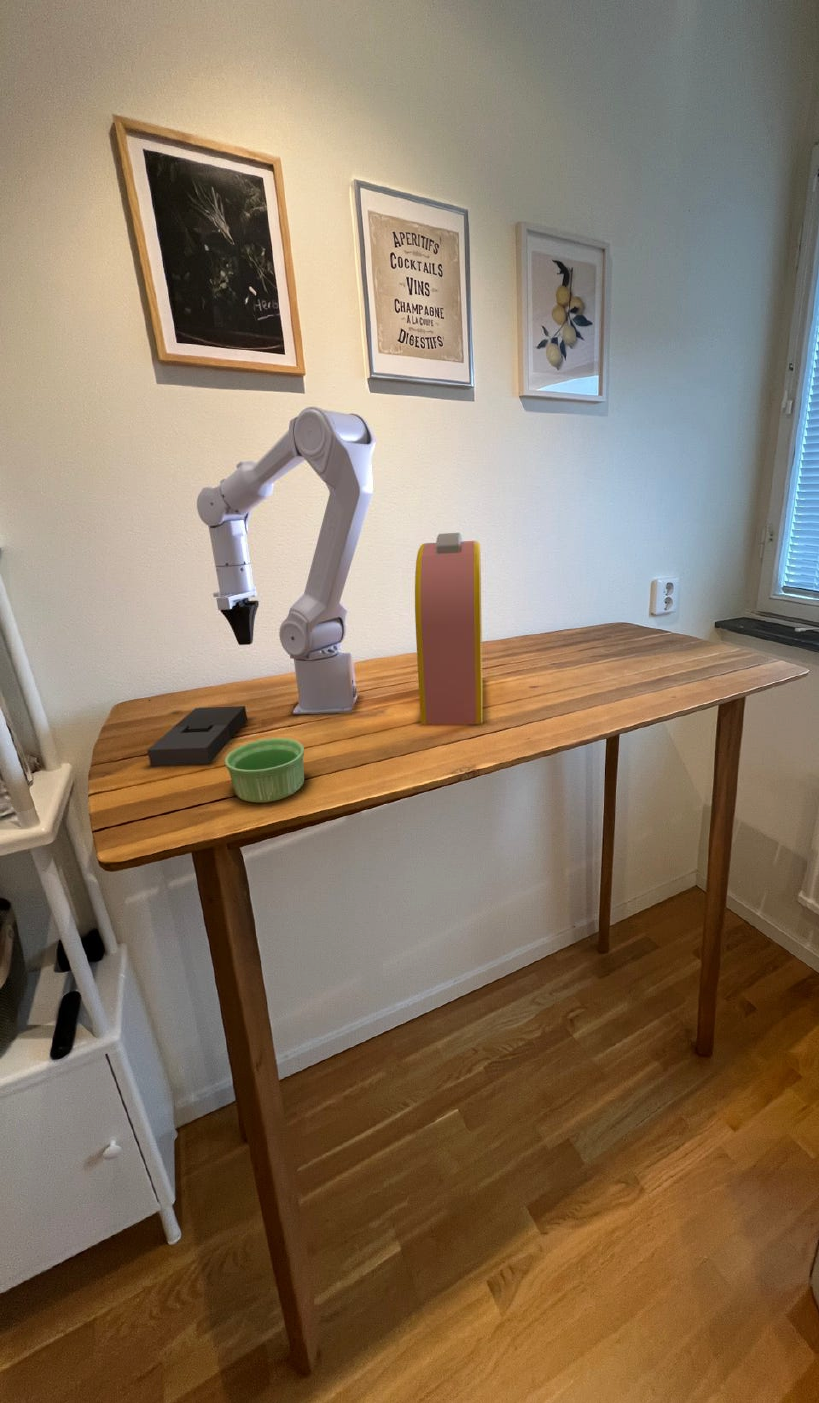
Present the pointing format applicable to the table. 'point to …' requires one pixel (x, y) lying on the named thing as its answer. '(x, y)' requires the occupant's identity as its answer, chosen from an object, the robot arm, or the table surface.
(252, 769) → the ramekin
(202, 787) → the table surface
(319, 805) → the table surface
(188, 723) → the black pad
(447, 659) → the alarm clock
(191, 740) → the charcoal pad
